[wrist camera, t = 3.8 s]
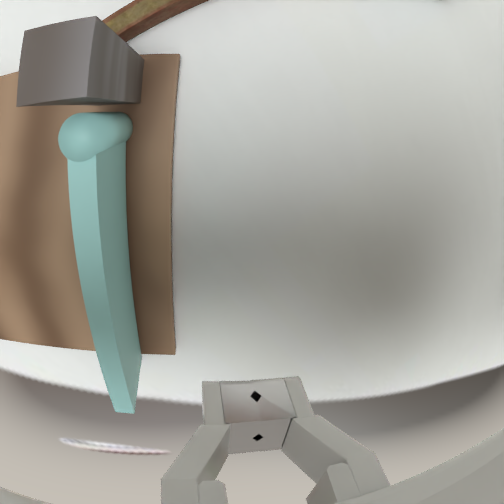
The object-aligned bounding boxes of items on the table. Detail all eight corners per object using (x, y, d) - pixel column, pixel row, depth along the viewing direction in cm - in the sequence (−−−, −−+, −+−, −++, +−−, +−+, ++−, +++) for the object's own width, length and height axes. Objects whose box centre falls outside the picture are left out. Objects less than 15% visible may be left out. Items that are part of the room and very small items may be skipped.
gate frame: (180, 56, 14) (162, 1, 6) (175, 347, 22) (174, 454, 14) (-59, 98, 11) (-147, 116, 3) (-19, 329, 18) (-63, 402, 10)
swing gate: (133, 111, 14) (103, 111, 9) (146, 355, 20) (138, 416, 16) (101, 112, 14) (58, 115, 9) (122, 354, 20) (110, 413, 15)
